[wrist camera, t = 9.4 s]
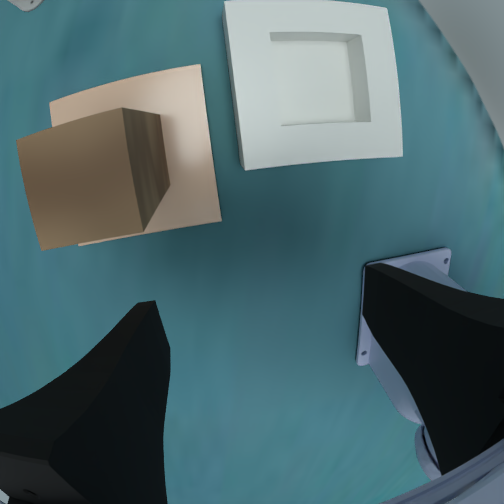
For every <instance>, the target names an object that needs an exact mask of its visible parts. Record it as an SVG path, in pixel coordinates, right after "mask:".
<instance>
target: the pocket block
mask: <svg viewBox="0 0 504 504" xmlns="http://www.w3.org/2000/svg"><path fill="white" fill-rule="evenodd" d="M222 21H223V29H224V37H225V45H226V53H227V61H228V69H229V77H230V85H231V93H232V101H233V109H234V117H235V125H236V133H237V141H238V149H239V157H240V165H241V166H242V167H243V168H244V170H253V169H261V168H269V167H277V166H286V165H295V164H305V163H315V162H326V161H338V160H351V159H366V158H384V157H403V146H402V124H401V108H400V96H399V86H398V76H397V68H396V60H395V53H394V46H393V39H392V33H391V27H390V22H389V17H388V11H387V8H384V7H378V6H371V5H364V4H357V3H348V2H339V1H327V0H234V1H224V6H223V13H222Z"/></svg>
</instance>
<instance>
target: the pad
mask: <svg viewBox="0 0 504 504" xmlns="http://www.w3.org/2000/svg"><path fill="white" fill-rule="evenodd" d="M49 104H50V112H51V120H52V127H54V126H57V125H60V124H64V123H67V122H70V121H73V120H77V119H80V118H83V117H87V116H90V115H94V114H98V113H101V112H105V111H109V110H113V109H117V108H121V107H123V108H128V109H134V110H140V111H145V112H150V113H155V114H160V118H161V125H162V133H163V140H164V147H165V154H166V160H167V167H168V173H169V179H170V187H169V188H168V190H167V192H166V194H165V195H164V197H163V199H162V200H161V202H160V204H159V206H158V207H157V209H156V211H155V213H154V214H153V216H152V218H151V220H150V221H149V223H148V225H147V227H146V229H145V230H144V232H142V233H136V234H130V235H124V236H119V237H113V238H107V239H102V240H96V241H91V242H85V243H80V244H78V245H79V246H82V245H87V244H93V243H98V242H103V241H109V240H114V239H119V238H125V237H130V236H136V235H142V234H147V233H153V232H159V231H165V230H170V229H176V228H182V227H188V226H195V225H201V224H207V223H213V222H220V221H222V219H221V212H220V206H219V199H218V192H217V185H216V178H215V171H214V164H213V157H212V150H211V143H210V135H209V128H208V120H207V113H206V105H205V97H204V89H203V81H202V73H201V65H200V64H198V65H191V66H185V67H179V68H174V69H168V70H163V71H158V72H153V73H148V74H144V75H140V76H135V77H131V78H127V79H123V80H119V81H115V82H112V83H108V84H104V85H101V86H97V87H94V88H91V89H87V90H84V91H81V92H78V93H75V94H72V95H69V96H66V97H63V98H60V99H58V100H55V101H52V102H49Z"/></svg>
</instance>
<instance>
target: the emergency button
mask: <svg viewBox="0 0 504 504" xmlns="http://www.w3.org/2000/svg"><path fill="white" fill-rule="evenodd" d="M8 1H9V2H11V3H12V4H14V5H15V6H17V7H18V8H20V9H21V10H22V11H25V12H30V11H32V10H34V9H36V8H37V7H38V6H39V5H40V4H41V3H42V2H43V1H44V0H8Z"/></svg>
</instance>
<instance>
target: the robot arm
mask: <svg viewBox="0 0 504 504" xmlns="http://www.w3.org/2000/svg"><path fill="white" fill-rule="evenodd" d="M445 258H446V259H445ZM450 259H451V250H450V249H448V248H447V247H445V248H440V249H436V250H431V251H426V252H421V253H416V254H411V255H406V256H401V257H396V258H391V259H386V260H381V261H376V262H371V263H368V264H367V265H365V267H364V270H363V287H362V302H361V316H360V328H359V338H358V348H357V357H356V363H357V364H358V365H359V366H363V365H367V364H369V365H370V367H371V368H372V370H373V372H374V373H375V375H376V377H377V378H378V380H379V382H380V383H381V385H382V387H383V388H384V390H385V392H386V393H387V395H388V397H389V398H390V400H391V402H392V403H393V405H394V407H395V408H396V409H397V411H398V412H399V413H400V414H401V415H402V416H404V417H405V418H407V419H408V420H410V421H413V422H415V423H419V424H421V425H420V426H419V427H418V429H417V431H416V433H415V447H416V455H417V458H418V461H419V463H420V465H421V467H422V469H423V471H424V472H425V474H426V475H427V476H428V478H429V479H430V480H431V482H429V483H427V484H424V485H422V486H420V487H418V488H416V489H414V490H411V491H409V492H407V493H405V494H402V495H400V496H397V497H395V498H392V499H390V500H387V501H385V502H382V503H380V504H445V503H446V504H504V299H500V298H494V297H488V296H483V295H478V294H474V293H470V292H467V291H466V290H465V289H464V288H462V287H461V286H460V285H459V284H457V283H456V282H455V281H454V280H452V279H451V278H450V277H448V271H449V265H450ZM444 260H445V261H444ZM363 351H364V352H363ZM169 380H170V346H169V343H168V340H167V337H166V334H165V331H164V328H163V324H162V321H161V318H160V315H159V311H158V308H157V305H156V302H155V301H147V302H140V303H137V304H136V305H135V306H134V307H133V308H132V309H131V310H130V311H129V312H128V313H127V314H126V315H125V316H124V317H123V318H122V319H121V320H120V321H119V323H118V324H117V325H116V326H115V327H114V328H113V329H112V330H111V331H110V332H109V333H108V334H107V335H106V336H105V337H104V338H103V339H102V340H101V341H100V342H99V343H98V344H97V345H96V346H95V347H94V348H93V349H92V350H91V351H90V352H89V353H88V354H86V355H85V356H84V357H83V358H82V359H81V360H80V361H78V362H77V363H76V364H75V365H73V366H72V367H71V368H70V369H68V370H67V371H66V372H64V373H63V374H62V375H60V376H59V377H57V378H56V379H54V380H53V381H51V382H50V383H48V384H47V385H45V386H44V387H42V388H41V389H39V390H37V391H36V392H34V393H32V394H30V395H29V396H27V397H25V398H23V399H21V400H19V401H17V402H15V403H13V404H11V405H9V406H6V407H4V408H1V409H0V489H1V490H2V491H3V492H4V493H6V494H7V495H8V496H9V501H8V504H167V495H166V486H165V472H164V450H163V433H164V421H165V412H166V404H167V396H168V388H169ZM456 497H457V498H456ZM454 498H455V499H454ZM452 499H453V500H452ZM450 500H451V501H450ZM449 501H450V502H449ZM447 502H448V503H447ZM0 504H5V503H3V502H2V501H0Z"/></svg>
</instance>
